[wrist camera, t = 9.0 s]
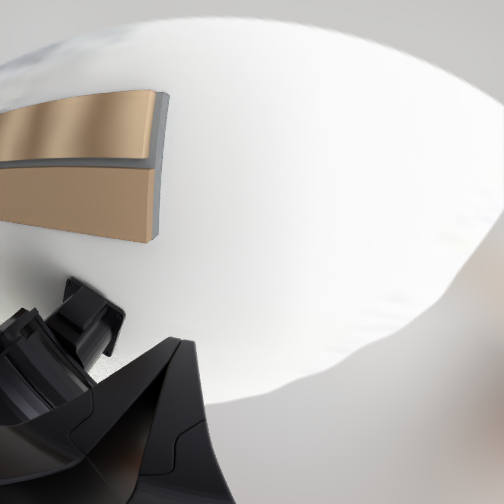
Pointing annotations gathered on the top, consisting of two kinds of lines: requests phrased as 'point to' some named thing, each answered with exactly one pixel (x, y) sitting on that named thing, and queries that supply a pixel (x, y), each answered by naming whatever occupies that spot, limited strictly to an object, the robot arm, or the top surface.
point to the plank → (80, 127)
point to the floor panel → (89, 190)
